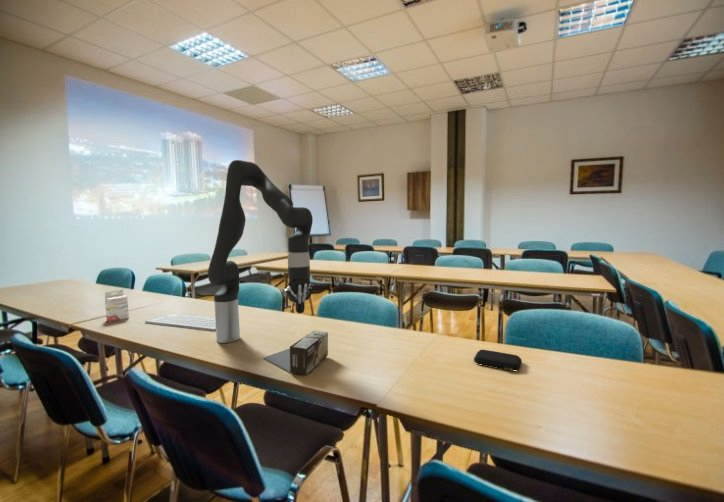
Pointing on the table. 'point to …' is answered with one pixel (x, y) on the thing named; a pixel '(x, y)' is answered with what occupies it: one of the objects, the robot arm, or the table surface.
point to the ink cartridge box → (116, 306)
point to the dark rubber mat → (281, 360)
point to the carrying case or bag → (498, 360)
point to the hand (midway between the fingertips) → (300, 312)
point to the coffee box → (308, 352)
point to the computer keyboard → (185, 322)
